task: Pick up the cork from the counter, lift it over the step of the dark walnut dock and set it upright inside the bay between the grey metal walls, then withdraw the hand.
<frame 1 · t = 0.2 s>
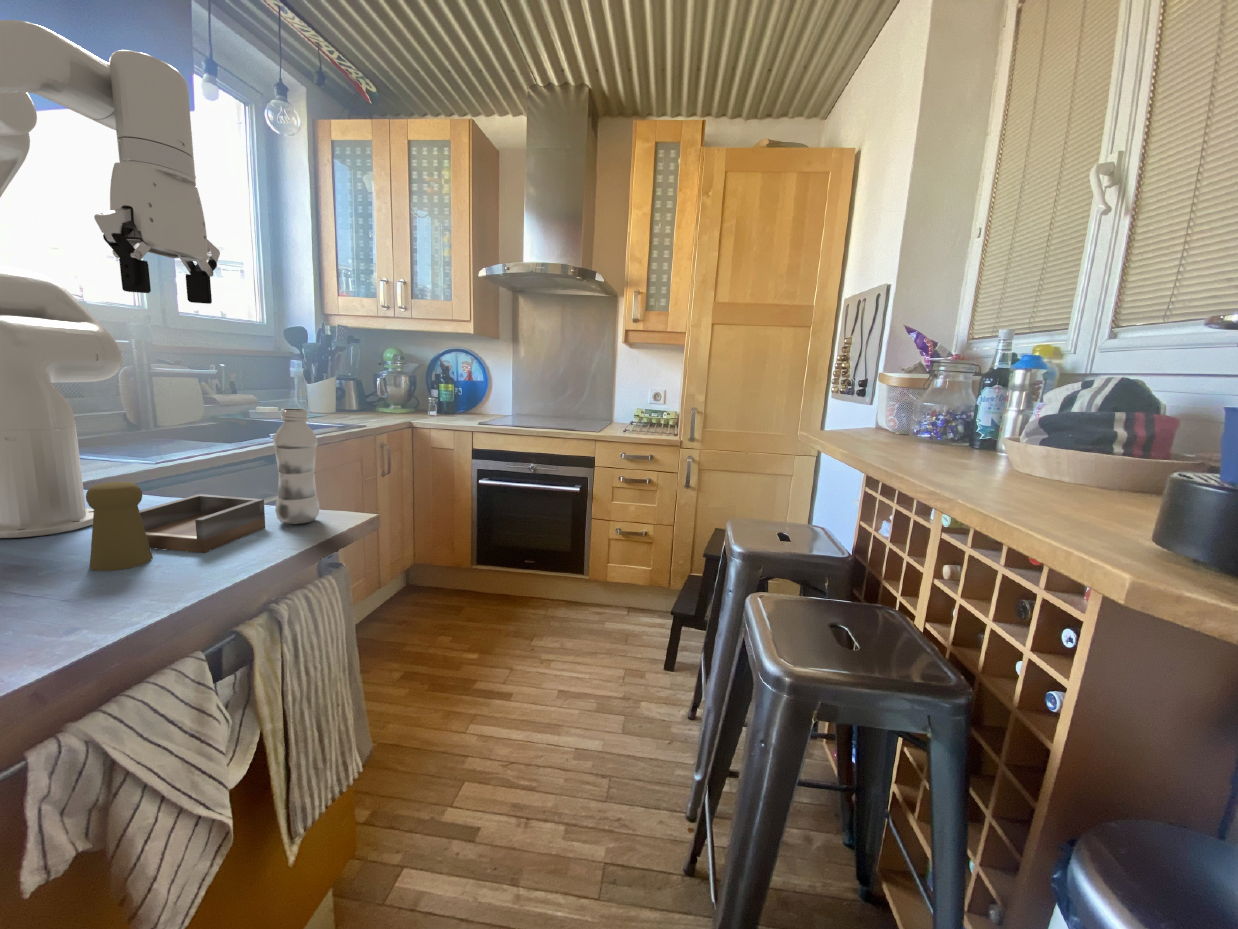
hand: (170, 297, 69), 36 cm above the table, tool pointing down, fingers open, 9 cm apart
cork: (122, 563, 67), on the table
plastic bottle: (298, 523, 87), on the table
dock: (202, 536, 77), on the table
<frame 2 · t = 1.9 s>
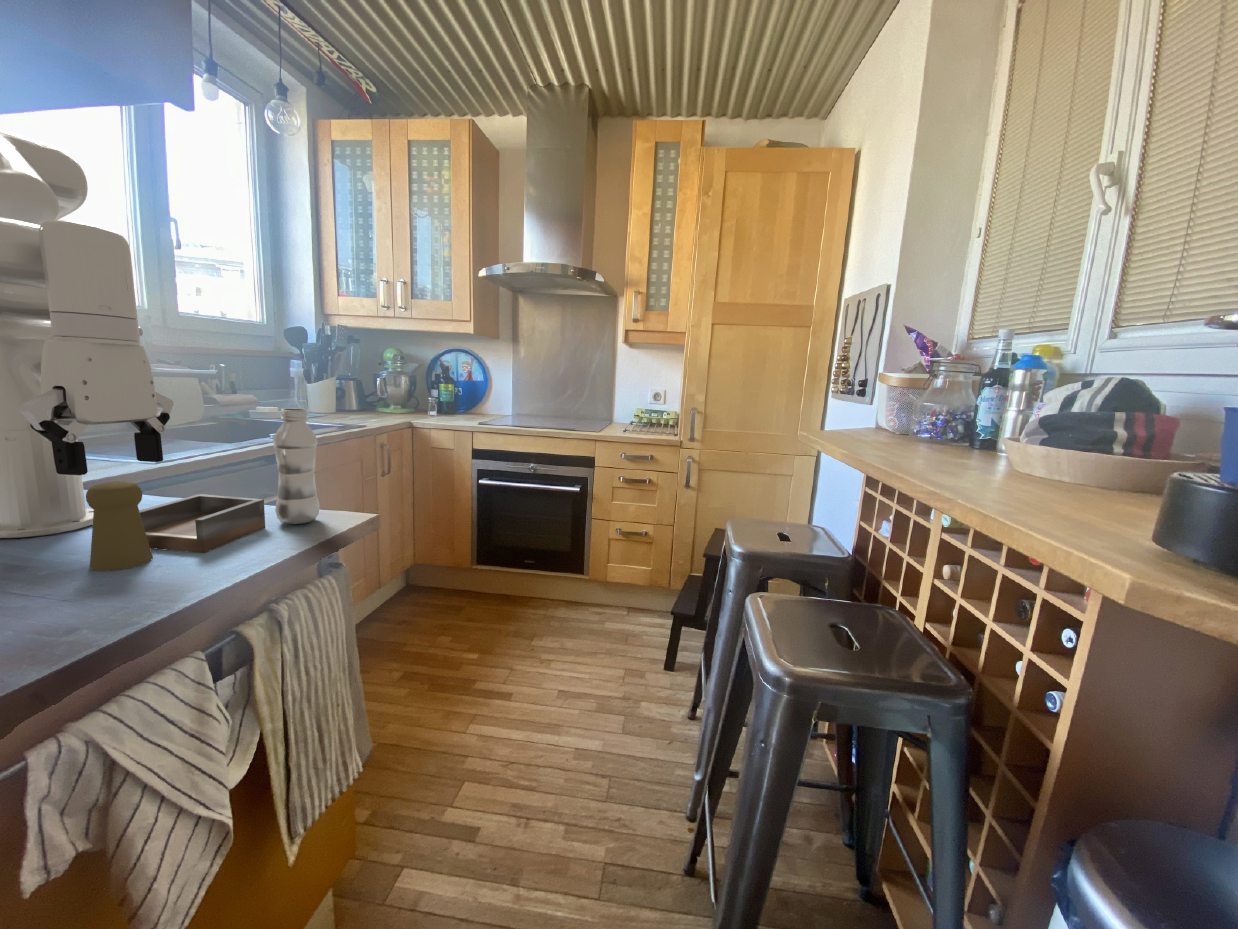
hand: (114, 467, 64), 13 cm above the table, tool pointing down, fingers open, 9 cm apart
nothing on the table moved.
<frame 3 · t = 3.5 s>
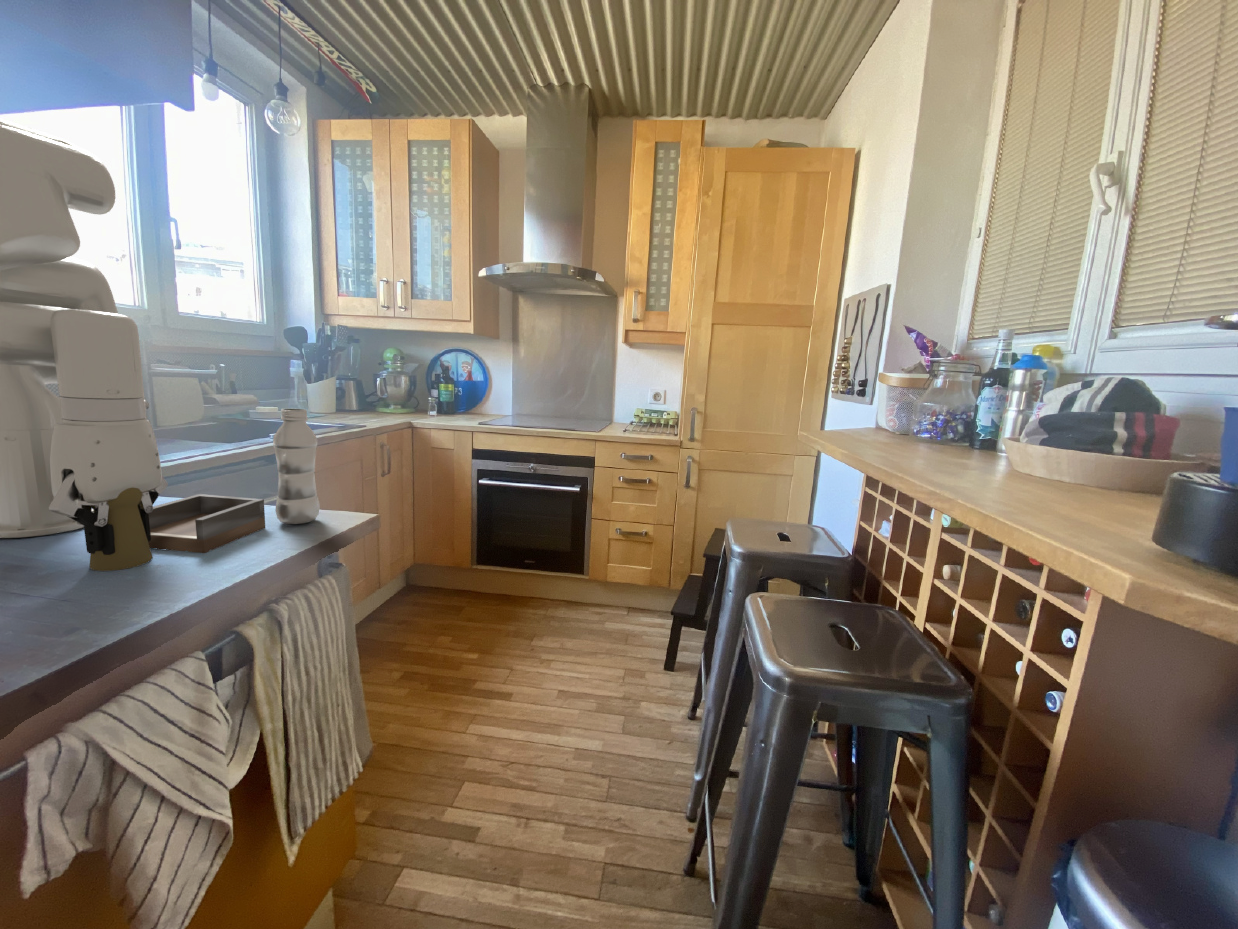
hand: (120, 545, 66), 2 cm above the table, tool pointing down, fingers closed on cork, 4 cm apart
cork: (122, 563, 67), on the table, touching gripper
everything else where it was.
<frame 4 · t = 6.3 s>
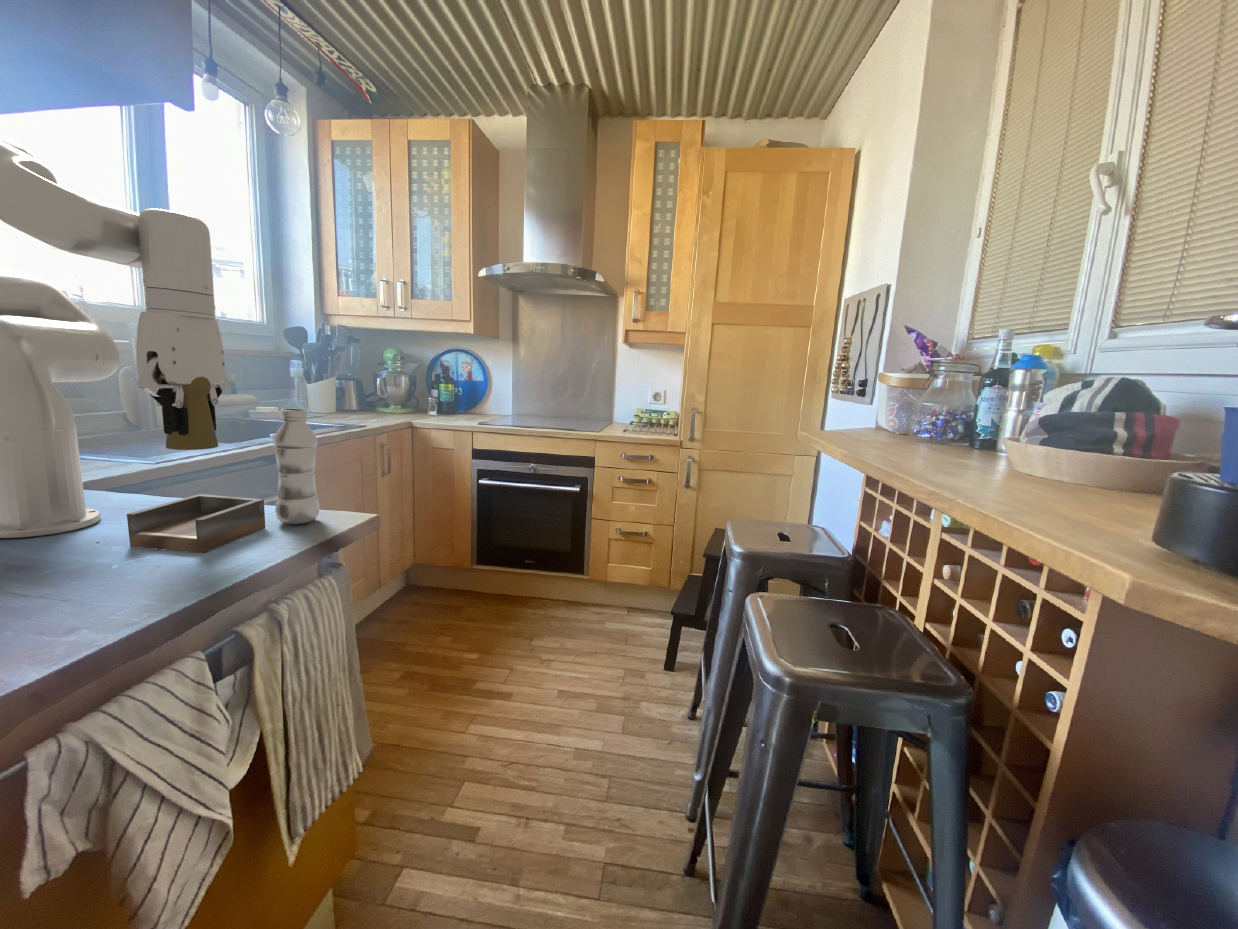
hand: (191, 431, 74), 17 cm above the table, tool pointing down, fingers closed on cork, 4 cm apart
cork: (192, 447, 74), point 14 cm above the table, touching gripper
everything else where it was.
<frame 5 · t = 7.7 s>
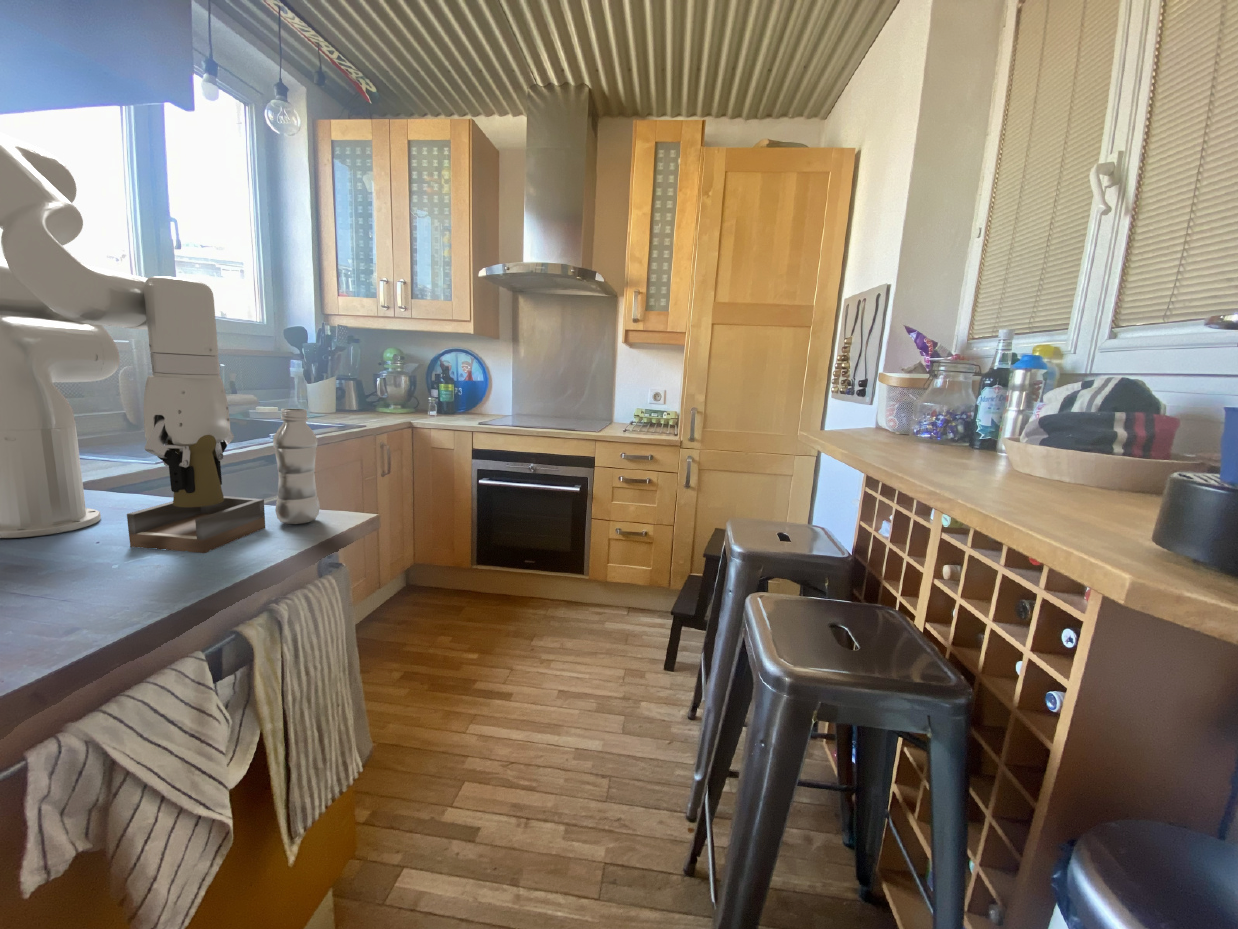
hand: (197, 487, 75), 8 cm above the table, tool pointing down, fingers closed on cork, 4 cm apart
cork: (199, 503, 76), point 6 cm above the table, touching gripper
everything else where it was.
when the fingers open (6 cm above the table, at t = 8.9 s): cork drops 1 cm, resting on dock.
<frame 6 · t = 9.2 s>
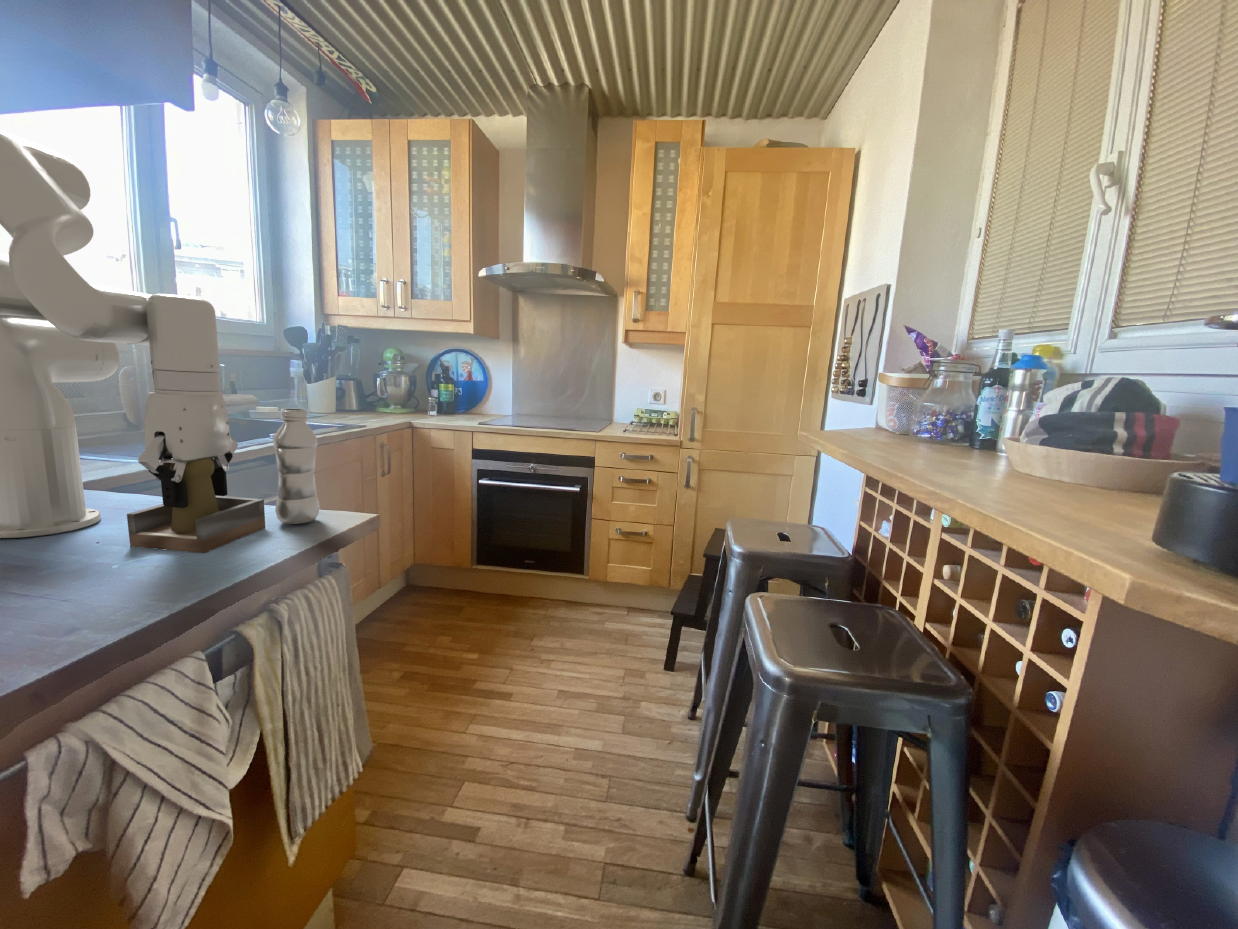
hand: (197, 499, 76), 6 cm above the table, tool pointing down, fingers open, 6 cm apart
cork: (197, 527, 76), point 2 cm above the table, touching dock
everything else where it was.
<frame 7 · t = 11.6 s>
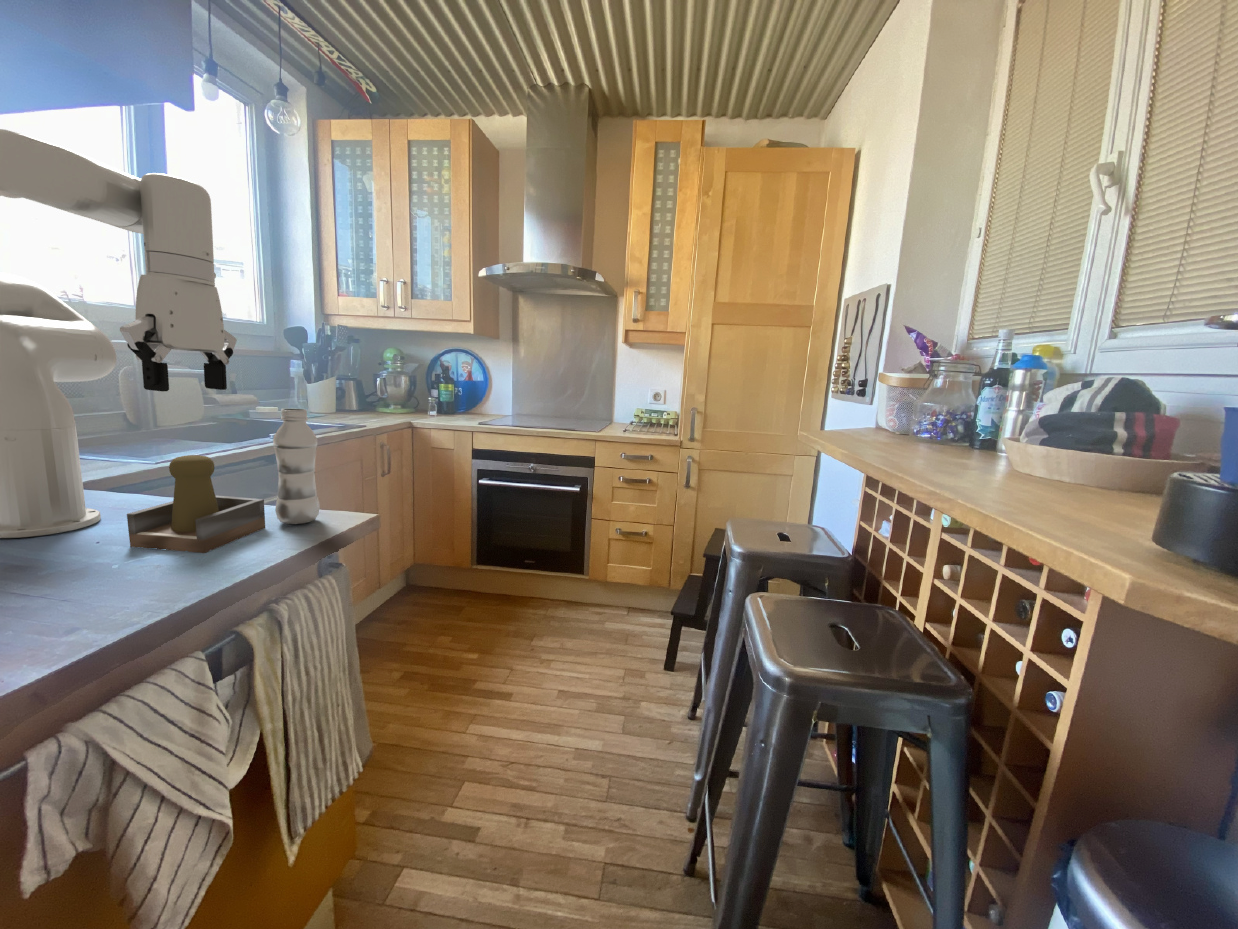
hand: (188, 389, 75), 23 cm above the table, tool pointing down, fingers open, 9 cm apart
nothing on the table moved.
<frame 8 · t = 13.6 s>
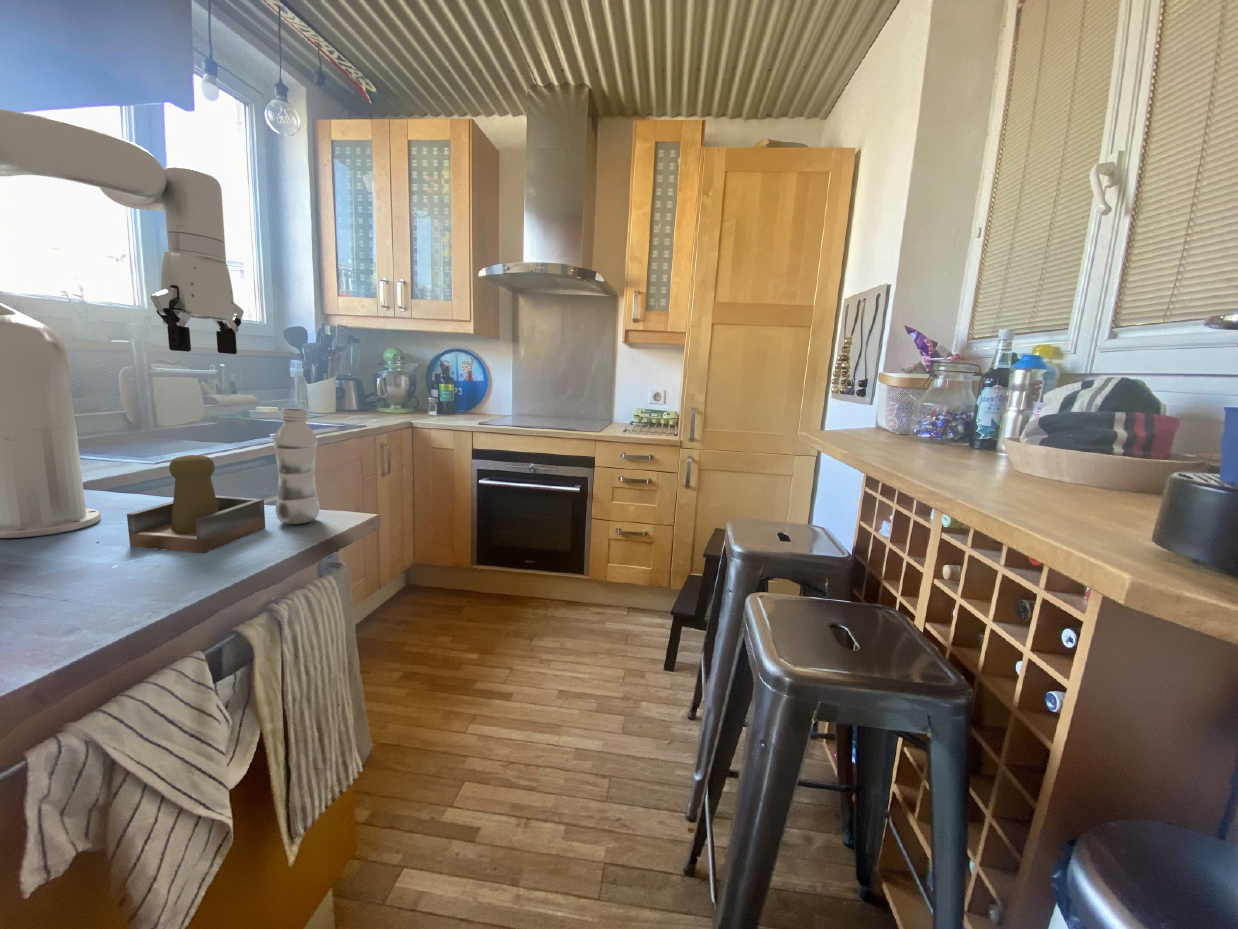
hand: (205, 352, 87), 28 cm above the table, tool pointing down, fingers open, 9 cm apart
nothing on the table moved.
at the end: cork inside the target area on the dock (0.2 cm from its centre), point 1.8 cm above the dock's base; cork tilted 0°; the gripper is holding nothing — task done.
